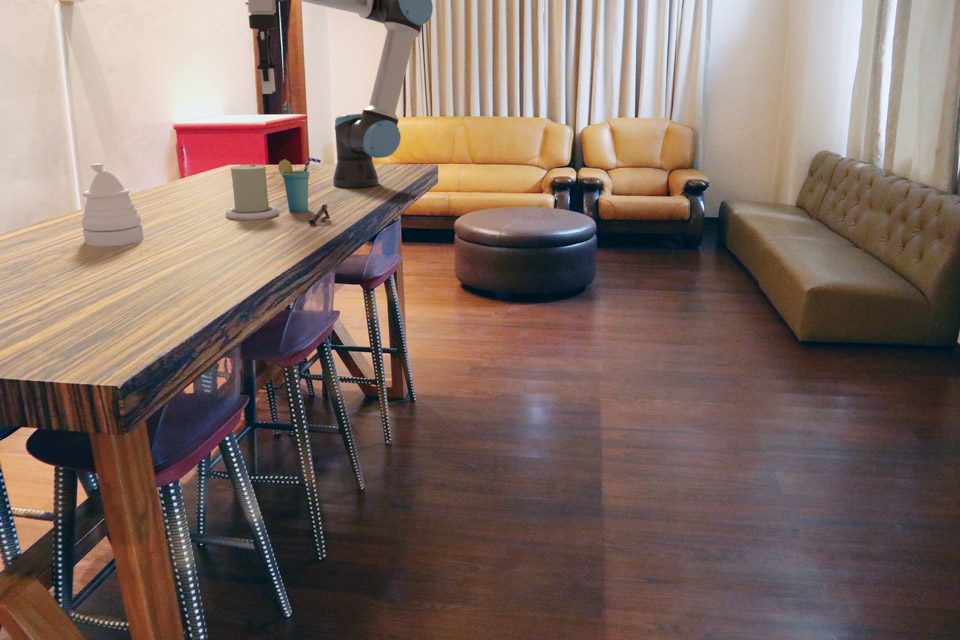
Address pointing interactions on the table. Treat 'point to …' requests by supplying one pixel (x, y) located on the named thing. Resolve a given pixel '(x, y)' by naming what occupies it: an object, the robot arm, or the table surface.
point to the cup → (296, 185)
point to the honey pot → (109, 212)
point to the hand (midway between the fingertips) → (269, 92)
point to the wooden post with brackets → (319, 213)
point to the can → (250, 188)
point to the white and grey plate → (252, 214)
